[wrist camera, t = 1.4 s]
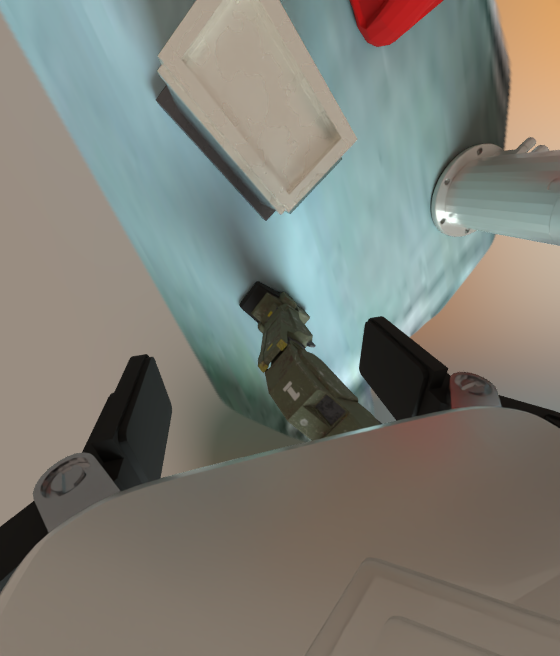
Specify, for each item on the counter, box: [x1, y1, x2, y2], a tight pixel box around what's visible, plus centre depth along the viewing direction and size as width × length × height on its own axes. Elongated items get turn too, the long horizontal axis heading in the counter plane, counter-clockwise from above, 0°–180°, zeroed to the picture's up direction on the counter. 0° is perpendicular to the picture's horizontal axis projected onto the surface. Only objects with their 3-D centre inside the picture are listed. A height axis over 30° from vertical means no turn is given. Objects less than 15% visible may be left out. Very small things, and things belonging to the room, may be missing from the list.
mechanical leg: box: [240, 282, 382, 441], centre depth 32 cm, size 14×7×30 cm, turn 51°
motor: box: [156, 0, 357, 221], centre depth 25 cm, size 11×16×14 cm
